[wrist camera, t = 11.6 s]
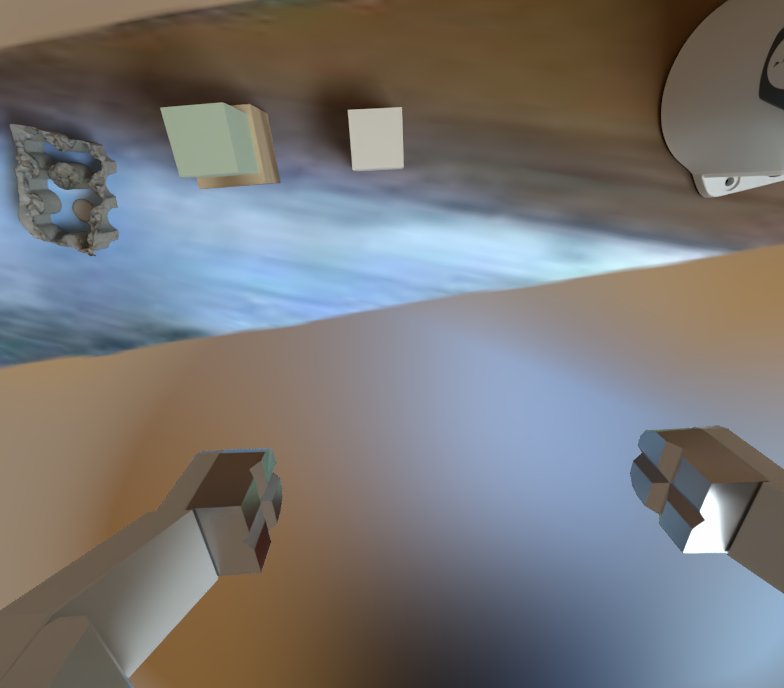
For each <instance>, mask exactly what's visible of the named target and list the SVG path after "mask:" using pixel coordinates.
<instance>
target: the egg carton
mask: <svg viewBox="0 0 784 688" xmlns="http://www.w3.org/2000/svg"><path fill="white" fill-rule="evenodd" d="M10 129H11V132H12V135H13V139H14V144H15V146H16V147H17V156H16V157H15V158H16V159H17V160H18V165H17V166H16V167H15V169H14V171H15V173H16V176H17V181H18V192H19V196H20V197H19V210H18V216H19V220H20V222H21V224H22V225H23V226H24V227H25V229H26V230H27V231H28V232H29V233H30V234H31V235H32V236H33V237H35V238H37V239H41V240H43V241H47V242H52V243H55V244H58V245H60V246H66V247H72V248H75V249H79V250H78V251H80V252H83V253H86V254H88V255H90V256H96V255H94V254H93V251H95V250H100V249H105V248H108V246H109V244H110V242H111V241H115V240H118V237H119V233H118V230H117V229H115V228H114V227H113V226H112V225H111V224H110V223H109V220H108V217H107V214H108V212H109V210H110V209H112V208H118V205H117V201H116V196H114V195H113V194H111V193H110V192H109V190H108V189H107V186H106V178H107V176H108V175H110V174H112V173H116V172H117V166H116V162H115V161H113V160H111V159H110V158H109V157H108V156H107V154H106V152H105V149H104V147H103V145H100V144H96V143H90V142H85V141H81V140H72V139H69V138H68V137H67V136H66V135H65V134H61V133H58V132H51V131H44V130H40V129H38V128H35V127H30V126H24V125H16V124H10ZM44 142H48V143H51V144H53V145H54V146H55V148H56V149H57V150H59V151H62V152H65V151H71V152H81V153H85V152H88V151H89V153H90V154H91V155H92V156H93V158H94V159H98V160H100V161H101V166H102V170H101V171H98V172H97V173H94V174H93V173H92V171H91V170H90V169H89V168H88V167H87V166H85V165H84V164H80V163H66V162H59V163H56V162H55V160H54V159H53V158H52V157H51V156H49V155H48V154H46V153H45V152H44V144H43V143H44ZM47 179H52V180H53V182H54V183H55V184H56V185H57V186H59V187H60V188H62V189H64V190H70V189H87V188H91V189H93V190H94V191H95V192H96V193H97V195H98V196H99V197H101V198H102V203H101V204H100V205H98V206H95V207H94V206H93V205H92V204H91V203H90V202H89V201H87V200H85V199H79V200H76V201H75V202H74V204H73V211H74V213H75V215H76V216H77V217H78V218H79V219H80V220H82V221H85V222H88V223H89V225H90V228H91V229H90V232H89V233H87V232H78V233H71V234H66V235H65V234H64V232H63V231H62V229H61V228H60V227H58V226H57V225H55V224H53V223H52V220H51V214H56V213H58V212H60V210H61V208H62V203H61V201H60V198H59V197H58V196H57V195H56V194H55V193H54V192H52V191H51V190H49V189H48V183H47Z"/></svg>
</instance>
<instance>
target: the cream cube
mask: <svg viewBox="0 0 784 688" xmlns="http://www.w3.org/2000/svg"><path fill="white" fill-rule="evenodd" d="M348 119H349V131H350V144H351V156H352V168H353V170H355V171H368V170H388V169H402V168H403V167H404V164H403V129H402V107H395V108H375V109H355V110H348Z"/></svg>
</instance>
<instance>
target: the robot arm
mask: <svg viewBox="0 0 784 688" xmlns="http://www.w3.org/2000/svg"><path fill="white" fill-rule="evenodd" d="M661 123H662V130H663V135H664V138H665V141H666V144H667V146H668V148H669V150H670V151H671V153H672V154H673V156H674V157H675V158H676V159H677V160H678V161H679V162H680V163H681V164H682V165H684V166H685V167H686V168H687V169H688V170H689V171H690V172H691V173H692V175H693V178H694V181H695V184H696V187H697V189H698V191H699V193H700V194H701V195H702V196H703V197H707V198H709V197H718V196H722V195H726V194H731V193H735V192H739V191H743V190H747V189H751V188H755V187H759V186H763V185H767V184H771V183H775V182H779V181H783V180H784V0H728V1H726V2H725V3H724V4H722V5H721V6H720V7H718V8H717V9H716V10H715V11H713V12H712V13H711V14H710V15H709V16H708V17H707V18H706V19H705V20H704V21H703V22H702V23H701V24H700V25H699V26H698V27H697V28H696V29H695V31H694V32H693V33H692V34H691V36H690V37H689V38H688V40H687V41H686V43H685V44H684V46H683V47H682V49H681V50H680V52H679V54H678V56H677V58H676V60H675V62H674V64H673V66H672V68H671V70H670V73H669V76H668V78H667V82H666V85H665V89H664V93H663V98H662V106H661ZM727 179H728V182H727V184H726V185H725V182H726V180H727ZM638 447H639V448H640V450H641V452H642V453H641V455H639V456H638V457H637V458H636V459H635V460H634V461H633V463H632V467H631V472H630V475H631V481H632V486H633V488H634V490H635V492H636V495H637V496H638V497H639V499H640V500H641V501H642V503H643V504H644V505H645V506H646V507H648V508H650V509H651V510H653V511H655V512H656V513H658V514H659V524H660V526H661V527H662V528H663V529H664V531H665V532H666V533H667V534H668V536H669V537H670V538H671V539H672V541H673V542H674V543H675V544H676V545H677V547H678V548H679V549H680V551H681V552H682V553H724V552H725V553H726V552H728V554H727V555H728V556H730V557H731V558H733V559H734V560H736V561H737V562H738V563H740V564H742V565H743V566H744V567H746V568H747V569H749V570H750V571H752V572H753V573H754V574H756V575H757V576H759V577H760V578H762V579H763V580H765V581H766V582H767V583H769V584H770V585H772V586H773V587H775V588H776V589H778V590H779V591H781V592H782V593H784V469H782V468H781V467H780V466H778V465H777V464H776V463H774V462H773V461H772V460H770V459H769V458H767V457H766V456H765V455H763V454H762V453H760V452H759V451H758V450H756V449H755V448H754V447H752V446H751V445H749V444H748V443H747V442H745V441H744V440H742V439H741V438H740V437H738V436H737V435H736V434H734V433H733V432H731V431H730V430H729V429H727V428H724V427H720V426H705V427H693V428H680V429H663V430H646V431H645V432H644V433H643V434H642V435H641V436H640V439H639V442H638ZM275 465H276V460H275V457H274V453H273V451H272V450H271V449H236V450H235V449H233V450H210V451H201V452H199V453H198V454H196V455H195V457H194V458H193V460H192V461H191V462H190V464H189V465H188V467H187V468H186V470H185V471H184V472H183V474H182V475H181V477H180V478H179V480H178V481H177V482H176V484H175V485H174V487H173V488H172V490H171V491H170V492H169V494H168V495H167V497H166V498H165V500H164V501H163V502H162V504H161V506H160V507H159V508H158V510H157V511H155V512H148V513H146V514H145V515H143V516H142V517H140V518H139V519H137V520H136V521H134V522H132V523H131V524H130V525H128V526H127V527H125V528H123V529H122V530H120V531H119V532H117V533H116V534H114V535H113V536H112V537H110V538H109V539H107V540H106V541H104V542H102V543H101V544H99V545H98V546H97V547H95V548H93V549H92V550H90V551H89V552H87V553H86V554H85V555H83V556H81V557H80V558H78V559H77V560H75V561H74V562H72V563H71V564H69V565H68V566H66V567H65V568H63V569H62V570H60V571H59V572H57V573H56V574H54V575H53V576H51V577H50V578H48V579H47V580H45V581H44V582H42V583H41V584H39V585H38V586H36V587H35V588H33V589H32V590H30V591H29V592H27V593H26V594H24V595H23V596H21V597H20V598H19V599H17V600H15V601H14V602H12V603H11V604H9V605H8V606H6V607H5V608H3V609H2V610H0V688H134V686H133V685H132V683H131V682H130V680H129V679H128V678H129V677H130V676H131V675H132V674H133V672H134V671H135V670H136V669H137V668H138V667H139V666H140V665H141V664H142V663H143V661H144V660H145V659H146V658H147V657H148V656H149V655H150V654H151V653H152V651H153V650H154V649H155V648H156V647H157V646H158V645H159V644H160V643H161V642H162V640H163V639H164V638H165V637H166V636H167V635H168V634H169V633H170V631H171V630H172V629H173V628H174V627H175V626H176V625H177V623H179V622H180V621H181V619H182V618H183V617H184V616H185V615H186V614H187V613H188V612H189V610H190V609H191V608H192V607H193V606H194V605H195V604H196V603H197V602H198V601H199V600H200V598H201V597H202V596H203V595H204V594H205V593H206V591H208V590H209V588H210V587H211V586H212V585H213V584H214V583H215V582H216V581H217V580H218V576H225V575H237V574H251V573H261V572H262V568H263V566H264V562H265V559H266V556H267V553H268V550H269V547H270V544H271V540H270V535H269V532H268V531H269V530H270V529H271V528H272V527H273V526H274V525H275V524H276V523H277V522H278V519H279V515H280V511H281V504H282V486H281V481H280V478H279V477H278V476H277V475H275V474H274V473H273V470H274V467H275Z"/></svg>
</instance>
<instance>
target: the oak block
mask: <svg viewBox="0 0 784 688" xmlns="http://www.w3.org/2000/svg"><path fill="white" fill-rule="evenodd" d="M232 107H234V108H236V109H238V110H240V111H242V112H244V113H247V114H248V119H249V124H250V129H251V134H252V139H253V144H254V149H255V154H256V159H257V164H258V168H259V174H247V175H235V176H222V177H210V178H202V177H196V178H197V182H198V185H199V189H208V188H225V187H237V186H249V185H260V184H272V183H280V178H279V172H278V167H277V162H276V156H275V151H274V146H273V140H272V135H271V130H270V124H269V119H268V114H267V113H265V112H264V111H262V110H260V109H258V108H256V107H254V106H253V105H251V104H243V105H232Z"/></svg>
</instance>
